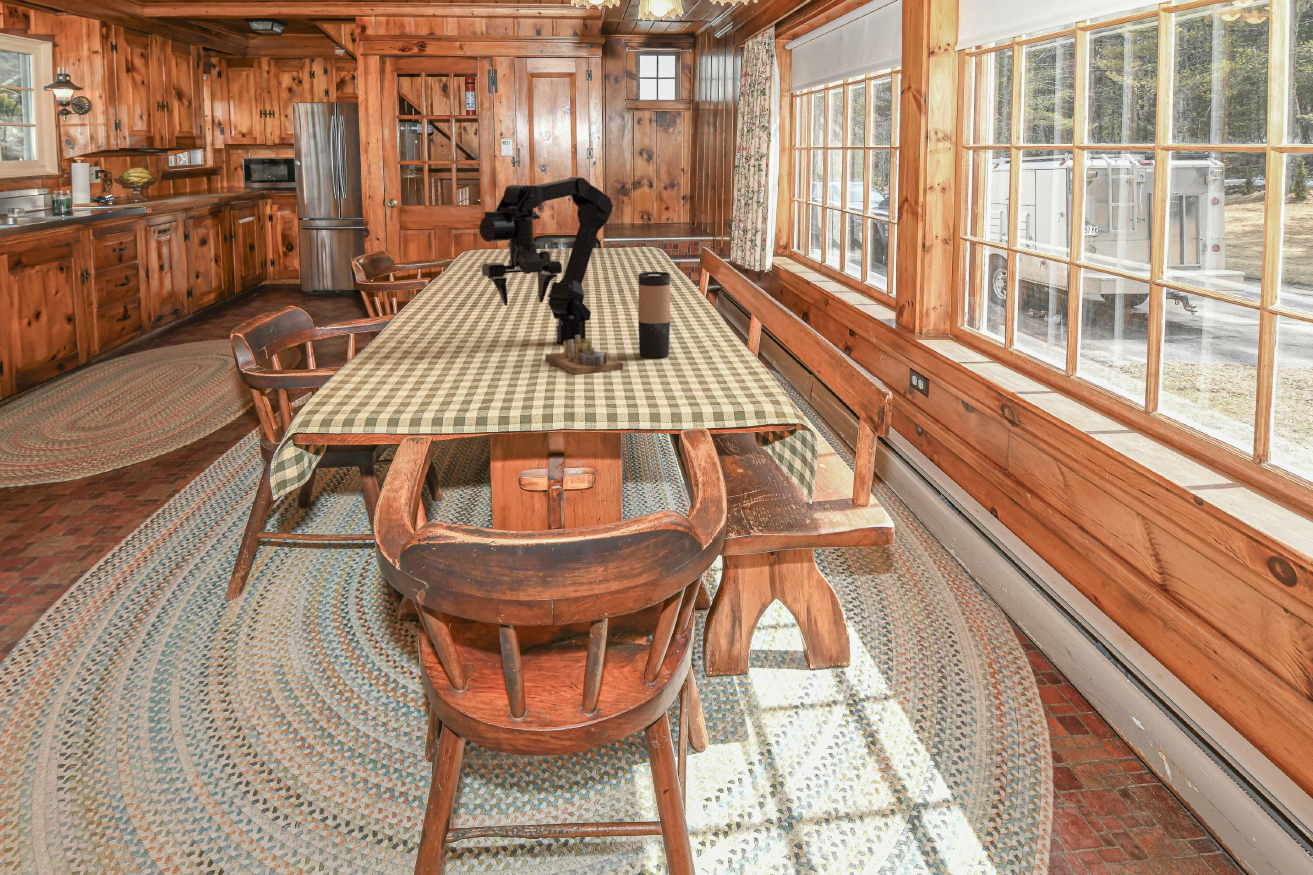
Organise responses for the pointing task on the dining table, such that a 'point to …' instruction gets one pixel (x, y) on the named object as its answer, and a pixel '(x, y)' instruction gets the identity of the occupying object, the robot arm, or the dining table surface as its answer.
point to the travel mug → (654, 314)
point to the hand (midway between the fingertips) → (523, 304)
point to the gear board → (583, 360)
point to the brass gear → (578, 347)
